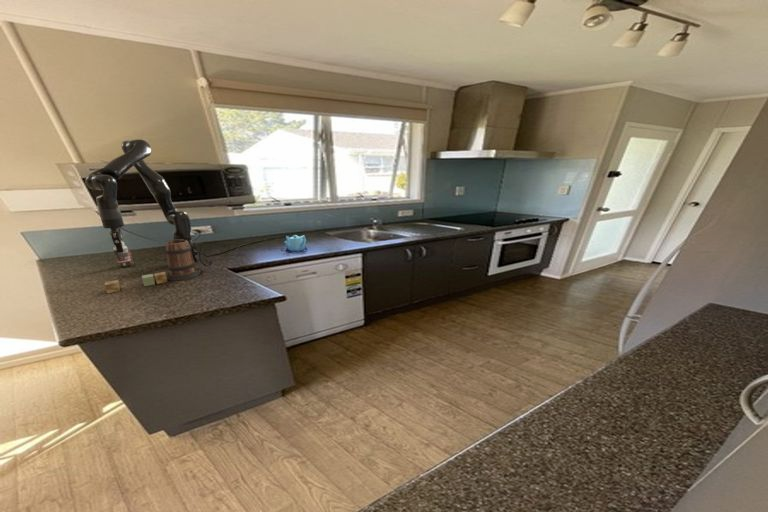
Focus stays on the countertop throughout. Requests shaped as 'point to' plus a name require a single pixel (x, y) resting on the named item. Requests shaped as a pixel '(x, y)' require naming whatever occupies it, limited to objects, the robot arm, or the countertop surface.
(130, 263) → the supplement bottle
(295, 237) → the teapot
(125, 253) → the pill bottle
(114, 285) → the birch block
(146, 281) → the sage block
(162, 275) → the maple block
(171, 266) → the tankard
